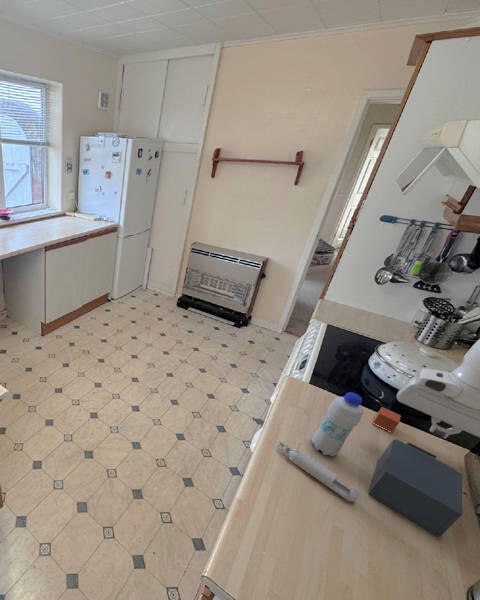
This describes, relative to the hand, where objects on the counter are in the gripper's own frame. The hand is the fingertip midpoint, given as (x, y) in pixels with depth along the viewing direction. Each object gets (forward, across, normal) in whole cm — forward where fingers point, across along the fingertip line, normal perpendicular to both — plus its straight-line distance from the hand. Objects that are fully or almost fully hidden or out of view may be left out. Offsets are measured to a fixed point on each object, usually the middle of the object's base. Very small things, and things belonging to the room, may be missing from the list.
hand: (437, 434), depth 81 cm
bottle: (+13, +17, +12) cm, 25 cm away
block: (+13, +7, -14) cm, 21 cm away
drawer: (+12, 0, +7) cm, 14 cm away
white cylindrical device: (+13, +17, +24) cm, 32 cm away
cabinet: (+13, 0, +12) cm, 18 cm away
